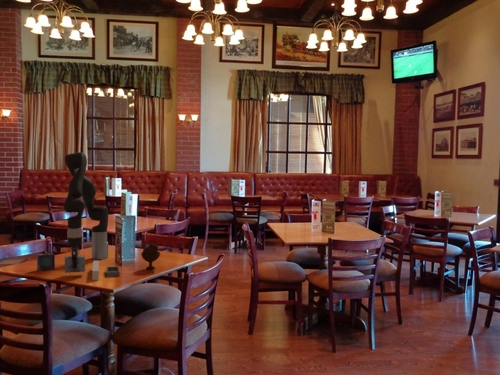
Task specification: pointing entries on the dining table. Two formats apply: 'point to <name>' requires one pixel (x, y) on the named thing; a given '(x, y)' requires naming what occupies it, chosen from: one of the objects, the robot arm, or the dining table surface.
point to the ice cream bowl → (150, 255)
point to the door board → (95, 270)
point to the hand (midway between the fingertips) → (75, 267)
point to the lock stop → (70, 264)
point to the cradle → (112, 271)
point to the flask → (46, 261)
